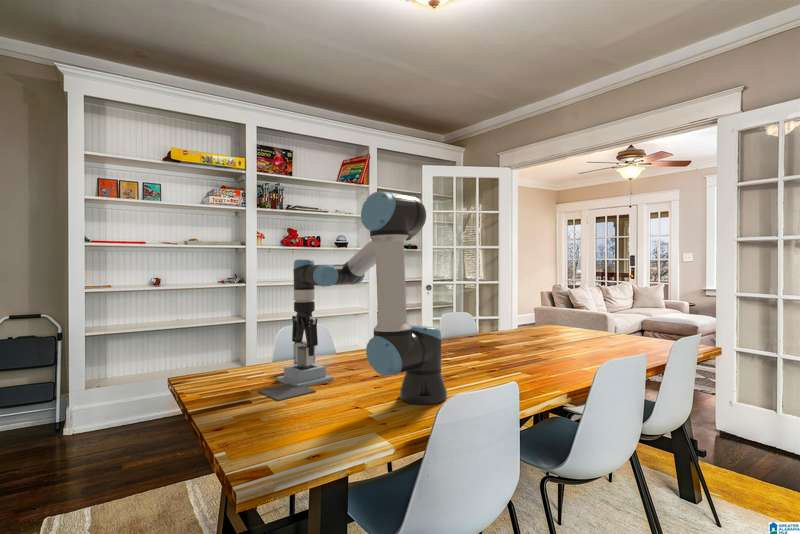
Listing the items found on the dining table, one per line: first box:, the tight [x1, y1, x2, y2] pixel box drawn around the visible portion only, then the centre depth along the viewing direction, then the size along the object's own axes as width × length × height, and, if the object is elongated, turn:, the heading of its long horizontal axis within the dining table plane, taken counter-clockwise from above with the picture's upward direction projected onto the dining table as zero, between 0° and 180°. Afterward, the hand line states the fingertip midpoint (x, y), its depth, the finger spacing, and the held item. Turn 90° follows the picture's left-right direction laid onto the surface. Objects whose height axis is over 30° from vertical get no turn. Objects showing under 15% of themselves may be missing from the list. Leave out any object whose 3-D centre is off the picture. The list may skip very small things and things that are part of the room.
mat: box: [257, 383, 317, 402], centre depth 147 cm, size 14×14×1 cm
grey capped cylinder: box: [296, 340, 312, 370], centre depth 161 cm, size 6×6×14 cm
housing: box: [275, 363, 334, 387], centre depth 161 cm, size 15×15×5 cm
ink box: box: [292, 342, 317, 365], centre depth 175 cm, size 9×5×12 cm, turn 92°
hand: (304, 362), depth 161 cm, fingers closed on grey capped cylinder, 6 cm apart
